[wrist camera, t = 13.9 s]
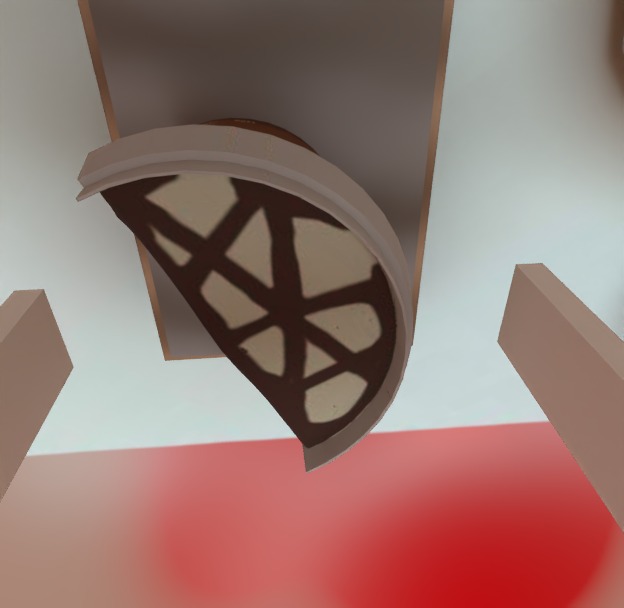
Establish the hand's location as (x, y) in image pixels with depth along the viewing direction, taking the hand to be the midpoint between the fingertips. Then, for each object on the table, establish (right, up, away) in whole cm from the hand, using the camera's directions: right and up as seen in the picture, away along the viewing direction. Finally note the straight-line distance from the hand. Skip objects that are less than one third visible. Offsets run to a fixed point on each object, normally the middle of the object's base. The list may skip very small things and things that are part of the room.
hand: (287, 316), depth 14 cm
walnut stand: (-1, +7, +12) cm, 14 cm away
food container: (0, +5, +8) cm, 10 cm away
